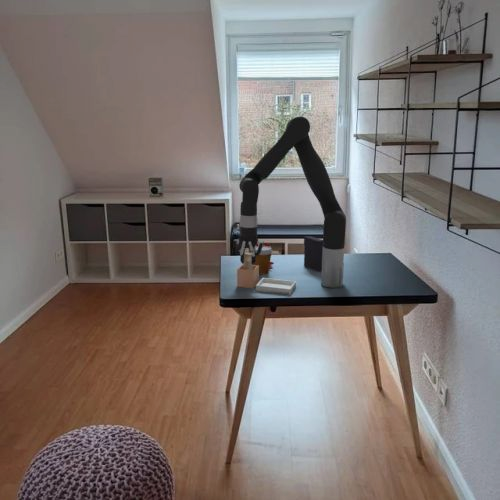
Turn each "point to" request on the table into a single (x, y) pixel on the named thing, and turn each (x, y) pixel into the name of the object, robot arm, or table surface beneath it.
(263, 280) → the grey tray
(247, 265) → the maple peg
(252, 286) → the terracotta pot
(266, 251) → the disposable coffee cup
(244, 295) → the table surface
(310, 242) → the calculator
